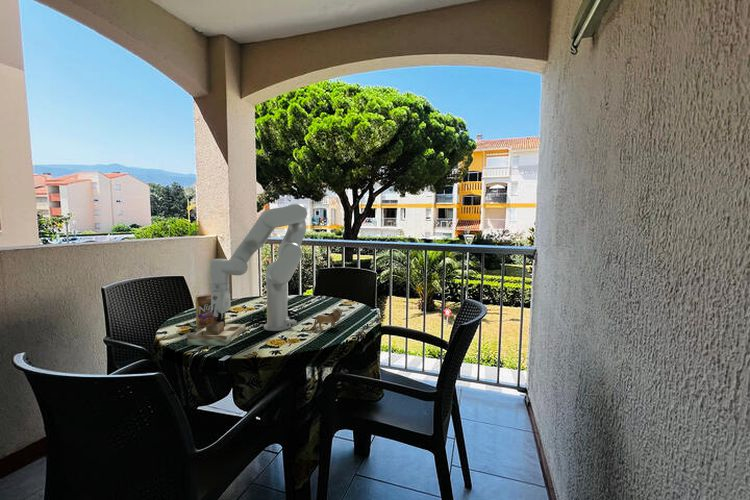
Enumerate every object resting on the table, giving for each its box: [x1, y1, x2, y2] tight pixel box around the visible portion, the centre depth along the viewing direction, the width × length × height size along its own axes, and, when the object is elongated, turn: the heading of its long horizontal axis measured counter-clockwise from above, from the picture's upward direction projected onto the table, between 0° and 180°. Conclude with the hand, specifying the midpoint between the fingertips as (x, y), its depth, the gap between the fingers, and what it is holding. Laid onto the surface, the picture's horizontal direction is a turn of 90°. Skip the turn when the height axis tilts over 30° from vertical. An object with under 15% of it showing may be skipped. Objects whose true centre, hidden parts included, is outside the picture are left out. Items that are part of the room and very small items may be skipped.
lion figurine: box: [311, 308, 342, 330], centre depth 171 cm, size 15×5×9 cm, turn 113°
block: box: [206, 322, 224, 335], centre depth 155 cm, size 5×6×4 cm
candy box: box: [195, 293, 216, 329], centre depth 171 cm, size 9×4×15 cm, turn 123°
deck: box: [186, 323, 246, 346], centre depth 157 cm, size 16×21×4 cm
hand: (220, 327), depth 160 cm, fingers closed
